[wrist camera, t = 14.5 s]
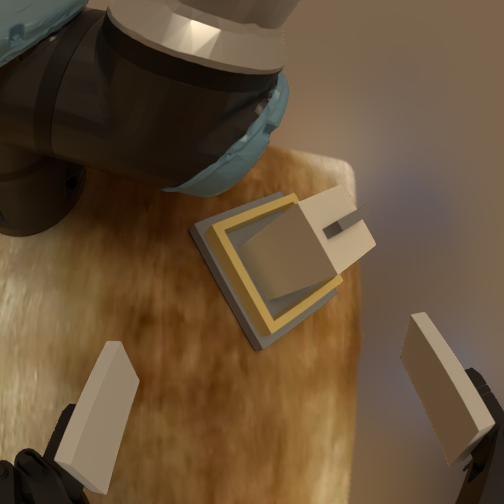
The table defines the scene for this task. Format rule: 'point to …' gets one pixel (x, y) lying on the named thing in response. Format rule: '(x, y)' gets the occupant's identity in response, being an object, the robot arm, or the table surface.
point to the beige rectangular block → (308, 243)
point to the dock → (241, 280)
